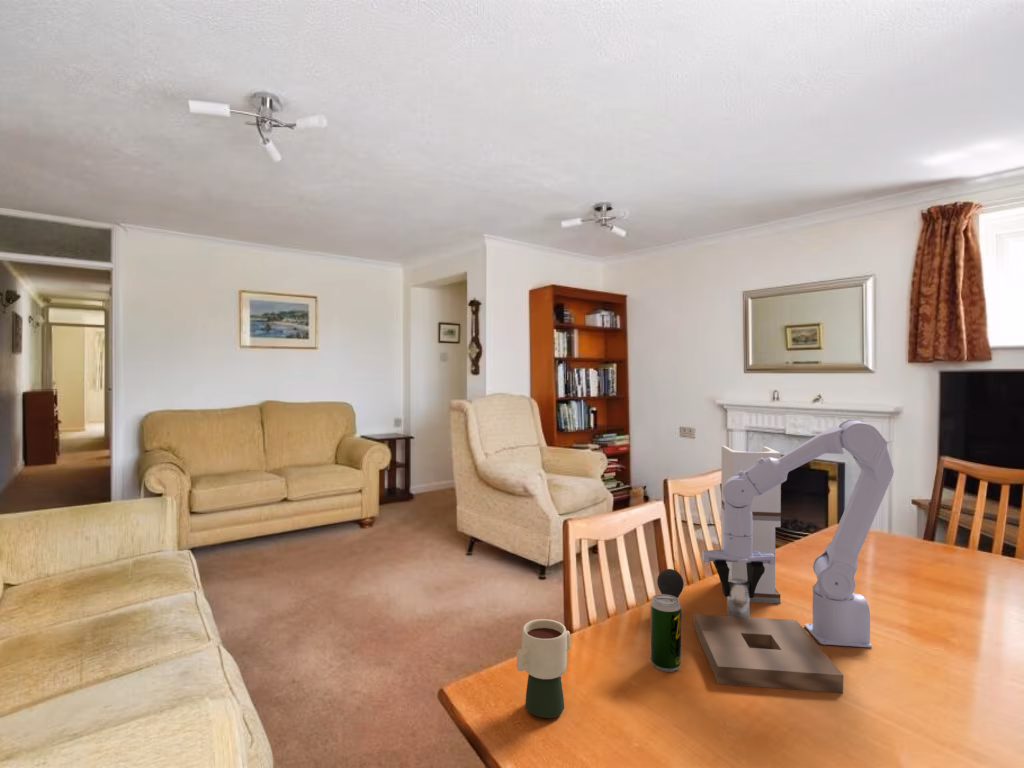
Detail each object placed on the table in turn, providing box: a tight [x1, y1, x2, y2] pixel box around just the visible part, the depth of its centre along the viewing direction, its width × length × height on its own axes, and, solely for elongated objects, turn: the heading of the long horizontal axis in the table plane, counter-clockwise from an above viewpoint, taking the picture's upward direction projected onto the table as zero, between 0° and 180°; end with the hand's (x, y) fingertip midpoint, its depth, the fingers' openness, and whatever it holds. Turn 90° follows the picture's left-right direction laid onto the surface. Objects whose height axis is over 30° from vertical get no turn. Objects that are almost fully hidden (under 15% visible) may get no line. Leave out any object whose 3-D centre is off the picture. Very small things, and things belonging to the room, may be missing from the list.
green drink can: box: [650, 593, 682, 673], centre depth 97 cm, size 5×5×12 cm
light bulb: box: [656, 568, 685, 599], centre depth 117 cm, size 6×6×10 cm
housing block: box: [693, 613, 844, 694], centre depth 99 cm, size 20×20×3 cm
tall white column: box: [720, 445, 782, 604], centre depth 129 cm, size 11×11×35 cm
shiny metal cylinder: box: [726, 578, 751, 617], centre depth 114 cm, size 4×4×7 cm
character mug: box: [516, 618, 571, 719], centre depth 84 cm, size 11×7×13 cm, turn 127°
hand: (737, 595), depth 114 cm, fingers closed on shiny metal cylinder, 4 cm apart
